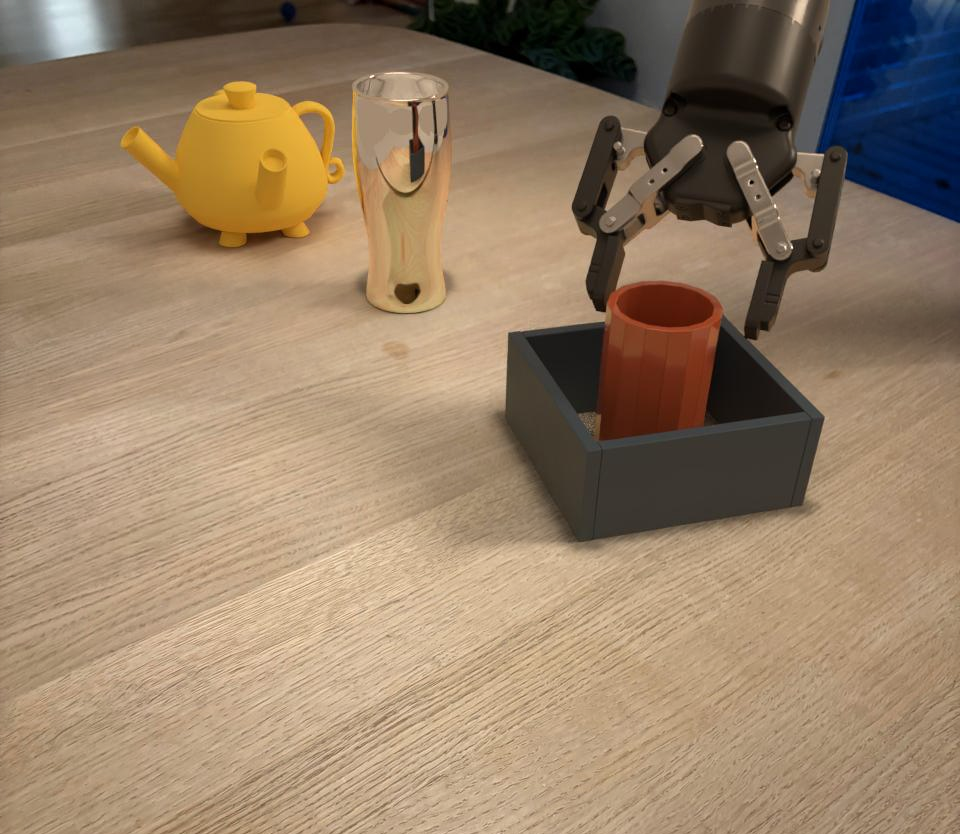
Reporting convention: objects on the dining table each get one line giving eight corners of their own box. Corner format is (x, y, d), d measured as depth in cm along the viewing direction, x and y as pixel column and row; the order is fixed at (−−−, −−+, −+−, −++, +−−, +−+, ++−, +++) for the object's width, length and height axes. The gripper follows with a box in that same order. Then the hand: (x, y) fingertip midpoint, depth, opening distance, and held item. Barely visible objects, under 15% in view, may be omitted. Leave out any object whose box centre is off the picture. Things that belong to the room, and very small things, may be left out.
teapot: (133, 243, 92) (106, 98, 85) (219, 188, 102) (201, 53, 94) (289, 273, 89) (275, 125, 81) (363, 212, 98) (357, 75, 91)
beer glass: (374, 272, 89) (365, 66, 79) (460, 281, 88) (461, 74, 78) (349, 311, 84) (335, 96, 74) (440, 321, 83) (438, 104, 73)
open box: (700, 403, 74) (716, 307, 70) (799, 520, 65) (825, 416, 60) (504, 431, 71) (507, 332, 67) (577, 557, 62) (587, 451, 57)
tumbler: (679, 431, 70) (703, 277, 64) (708, 487, 66) (737, 327, 59) (582, 437, 69) (596, 283, 63) (605, 494, 65) (623, 333, 58)
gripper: (617, -15, 61) (538, 273, 60) (888, 12, 57) (805, 318, 56) (634, 66, 68) (563, 323, 68) (875, 94, 64) (802, 367, 64)
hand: (674, 321), depth 62 cm, fingers open, 8 cm apart
